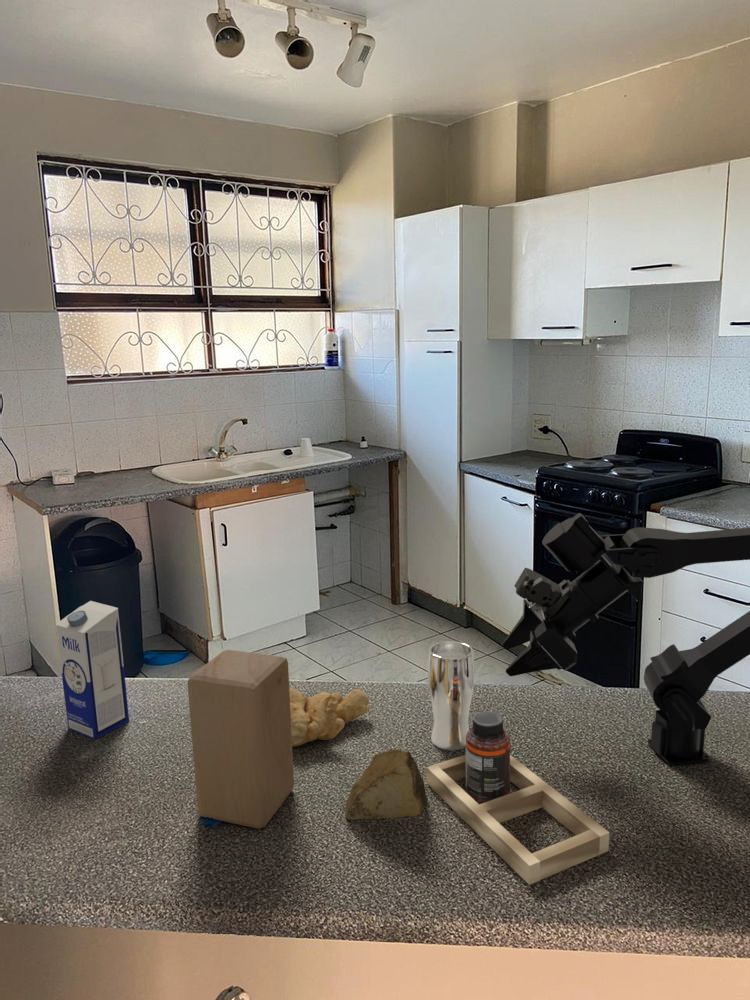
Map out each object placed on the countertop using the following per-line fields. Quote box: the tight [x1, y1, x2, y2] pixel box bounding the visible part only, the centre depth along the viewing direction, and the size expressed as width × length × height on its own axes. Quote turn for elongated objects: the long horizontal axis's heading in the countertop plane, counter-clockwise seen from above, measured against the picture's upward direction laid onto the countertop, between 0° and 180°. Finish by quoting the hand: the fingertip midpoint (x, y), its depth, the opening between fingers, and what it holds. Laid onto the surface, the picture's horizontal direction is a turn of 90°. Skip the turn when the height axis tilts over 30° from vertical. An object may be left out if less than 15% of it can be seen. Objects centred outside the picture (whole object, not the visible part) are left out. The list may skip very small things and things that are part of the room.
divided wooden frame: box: [426, 754, 610, 886], centre depth 97 cm, size 22×12×2 cm, turn 27°
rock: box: [344, 748, 428, 820], centre depth 98 cm, size 11×9×10 cm
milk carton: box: [55, 600, 130, 741], centre depth 120 cm, size 7×7×20 cm
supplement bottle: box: [465, 710, 511, 804], centre depth 100 cm, size 6×6×11 cm
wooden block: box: [187, 649, 295, 829], centre depth 98 cm, size 10×10×20 cm
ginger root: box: [289, 686, 370, 748], centre depth 118 cm, size 16×16×8 cm
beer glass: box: [427, 640, 475, 752], centre depth 113 cm, size 7×7×15 cm
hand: (505, 659), depth 110 cm, fingers open, 9 cm apart
